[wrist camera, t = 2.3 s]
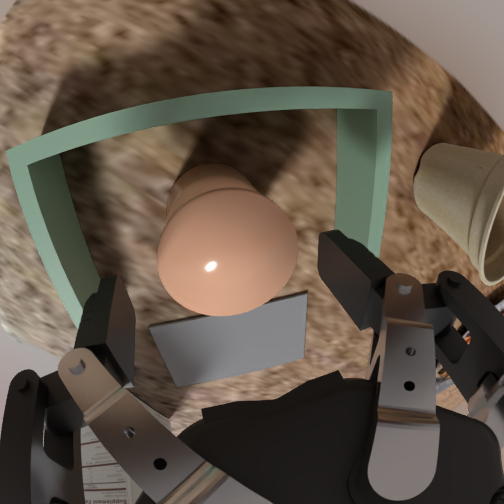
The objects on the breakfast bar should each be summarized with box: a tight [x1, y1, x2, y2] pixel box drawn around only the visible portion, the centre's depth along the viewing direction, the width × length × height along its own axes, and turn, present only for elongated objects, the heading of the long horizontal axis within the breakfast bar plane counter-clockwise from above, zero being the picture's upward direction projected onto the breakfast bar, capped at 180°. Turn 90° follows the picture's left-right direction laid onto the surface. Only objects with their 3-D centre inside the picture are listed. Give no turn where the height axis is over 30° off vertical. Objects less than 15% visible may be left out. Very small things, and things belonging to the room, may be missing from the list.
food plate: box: [436, 298, 504, 394], centre depth 40 cm, size 25×23×4 cm
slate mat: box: [149, 292, 307, 387], centre depth 23 cm, size 12×8×1 cm, turn 95°
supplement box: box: [81, 392, 172, 504], centre depth 20 cm, size 7×7×13 cm
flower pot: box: [413, 143, 504, 286], centre depth 16 cm, size 9×9×9 cm
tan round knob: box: [157, 163, 298, 316], centre depth 14 cm, size 6×6×6 cm
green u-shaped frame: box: [6, 87, 392, 329], centre depth 15 cm, size 18×13×4 cm
